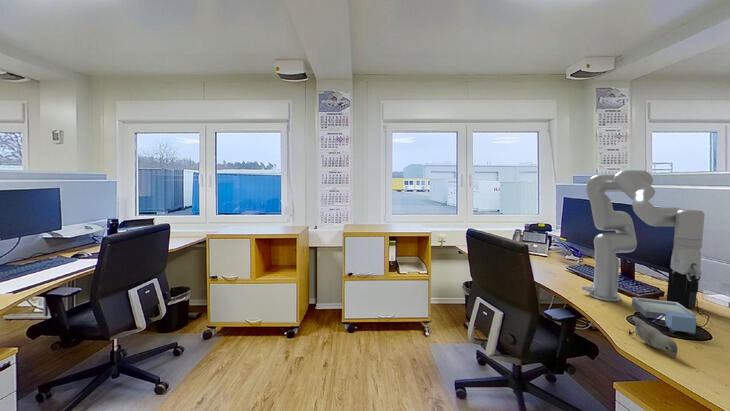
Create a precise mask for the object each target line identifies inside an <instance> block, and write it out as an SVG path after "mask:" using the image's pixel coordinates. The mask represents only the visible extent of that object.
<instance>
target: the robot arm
mask: <svg viewBox="0 0 730 411" xmlns="http://www.w3.org/2000/svg"><path fill="white" fill-rule="evenodd" d="M653 180H654V178H653V175H652V174H651V173H650V172H649V171H646V170H638V169H636V170H635V169H634V170H633V169H631V170H629V169H625V170H621V171H618V172H617V173H616V174H605V173H603V174H597V175H594V176H591V177H590V178H589V179H588V180H587V182H586V187H585V188H586V189H585V192H586V195H587V197H588V201H589V203H590V208H591V213H592V220H593V223H594V224H593V225H594V227H595V228H596V229H598V230H599V231H615V232H602V233H599V234H597V235H595V237H594V238H593V246H594V271H593V272H594V273H593V284H591V286H586V285H585V286H584V285H582V286H581V291H585V292H587V293H588V295H589V296H590V297H592V298H594V299H597V300H601V301H606V302H620V301H621V300H622V297H621V296H620V295H618V287H619V272H620V260H619V258H618V256H617V255H616V254H618V253H619V254H621V253H622V254H624V253H626V254H627V253H632V252H634V251H635V250H636V249H637V245H638V240H637V235H636V232H635V226H634V221H633V219H632V217H631V215H630V214H629V213H627V211H622V210H614V208H613V201H612V199H611V198H610V197H609V196H608V195H607V194H606V193H624V194H625V195H626V196H627V197H628V198H629V199H631V200H632V203H631V204H632V211H633V212H634V214H635V215H636V216H637V217H638V218H639V219H640V220H641V221H642V222H644V223H645V224H647V225H649V226H651V227H658V228H659V227H660V228H661V227H665V228H666V227H668V228H669V227H672V228H673V227H674V235H673V236H674V237H673V248H672V251H673V252H672V258H671V266H670V265H669V267H671V269H672V270H673V271H672V273H673V275H672V284H677V285H683V279H684V275H682V274H685V273H686V276H687V279H688V281H686V291H687V292H693V293H697V294H698V293H699V283H700V281H701V276H702V274H703V273H702V271H701V264H702V263H701V262H702V258H701V257H702V256H701V254H702V253H701V249H702V248H703V241H704V240H703V239H704V238H703V237H704V229H705V228H704V227H705V226H704V225H705V212H704V211H703V210H700V209H689V208H687V209H686V208H681V207H663V206H662V207H660V206H659V207H656V206H654V205H653V204H652V202H650V200H651V199H652V198H653V197H654V196H655V194H656V190H655V188H654V187H653V186H652V184H653ZM691 276H692V277H691Z"/></svg>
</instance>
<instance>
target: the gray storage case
mask: <svg viewBox="0 0 730 411" xmlns="http://www.w3.org/2000/svg"><path fill="white" fill-rule="evenodd" d="M665 322H666V324H667V326H668V328H669V329H668V331H669V330H672V331H678V332H684V333H686V334H688V333H691V334H696V335H697V331H696V329H697V318H695V317H693V316H692V315H690V314H689V313H681V312H672V311H666V315H665V321H664V323H665Z"/></svg>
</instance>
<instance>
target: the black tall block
mask: <svg viewBox="0 0 730 411" xmlns="http://www.w3.org/2000/svg"><path fill="white" fill-rule="evenodd" d="M672 252H673V250H670V252H669V253H670V254H669V255H670V257H669V258H670V259H669V268H668V269H669V270H668V280H667V291H666V301H671V302H678V303H679V304H681V305H682V306H684V307H685V308H687V309H688V310H690V309H691V308H694V307H696V305H697V294H698V293H693V292H687V291H686V281H688V279H687V276H686V273H685V274H682V275H684V279H683V285H677V284H672V275H673V273H672V271H673V270H672V269H671V267H670V266H671V258H672ZM691 277H692V276H691Z"/></svg>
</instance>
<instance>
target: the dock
mask: <svg viewBox="0 0 730 411" xmlns="http://www.w3.org/2000/svg"><path fill="white" fill-rule="evenodd" d="M631 299H632V300H631V307H632V308H633V309H634V310H635V311H637V312H638V313H639V312H640V313H641V314H643V315H644V316H658V315H666V311H672V312H681V313H689V314H690V315H692V316H693V317H695V318H696V315H697V314H695V313H694V312H692V311H691V310H690V309H687V308H685V307H684V306H682V305H681V304H679V303H678V302H671V301H667V300H659V299H652V298H645V297H635V296H633V297H632V298H631ZM640 313H639V314H640ZM641 314H640V315H641ZM696 319H697V318H696Z"/></svg>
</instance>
